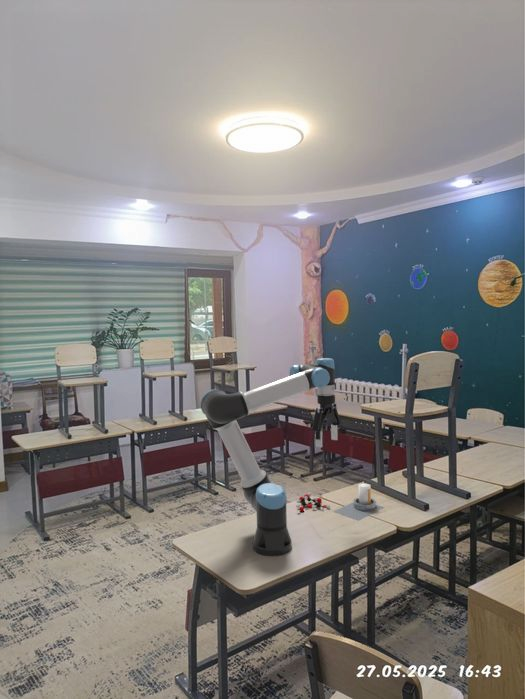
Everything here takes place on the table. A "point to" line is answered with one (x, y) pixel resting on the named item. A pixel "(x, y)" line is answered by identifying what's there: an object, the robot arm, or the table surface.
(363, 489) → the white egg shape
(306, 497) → the molecular model
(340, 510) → the board
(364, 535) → the table surface
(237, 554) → the table surface
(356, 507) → the duct collar
